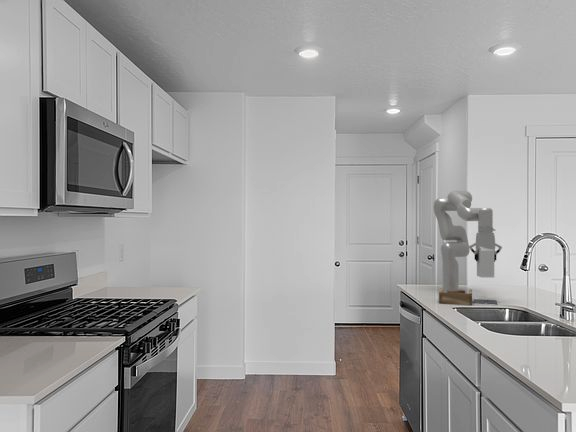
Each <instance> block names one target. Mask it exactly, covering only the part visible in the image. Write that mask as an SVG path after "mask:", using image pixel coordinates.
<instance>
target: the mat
mask: <svg viewBox="0 0 576 432" xmlns="http://www.w3.org/2000/svg"><path fill="white" fill-rule="evenodd" d="M480 303H487V304H486V305H499V304H498V301H497V300H496V299H481V298H480V299H479V298H478V299H477V298H473V304H480Z"/></svg>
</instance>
